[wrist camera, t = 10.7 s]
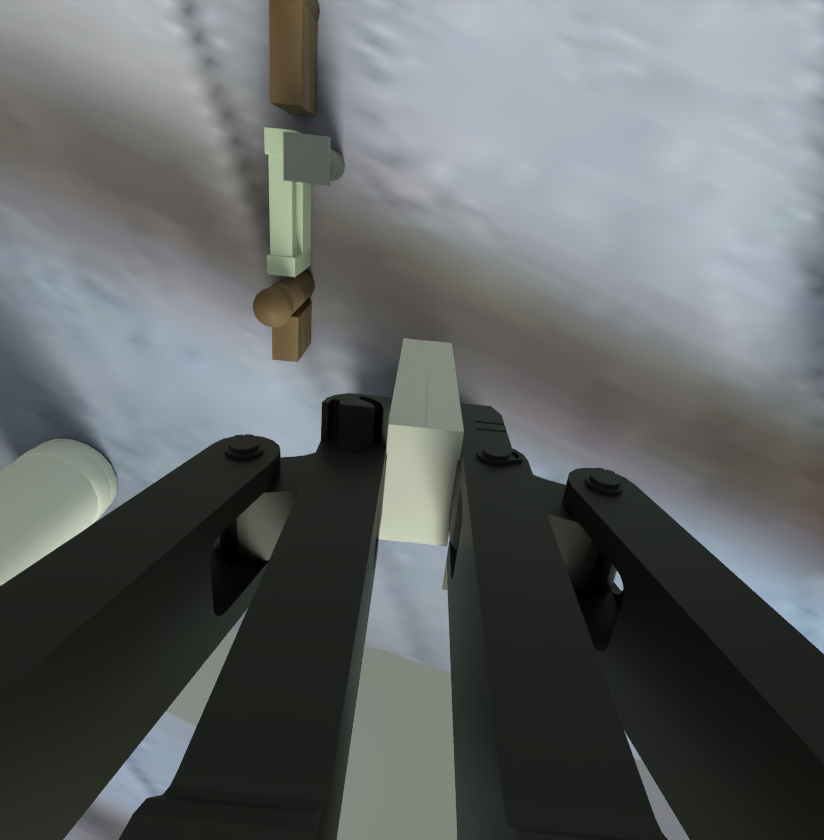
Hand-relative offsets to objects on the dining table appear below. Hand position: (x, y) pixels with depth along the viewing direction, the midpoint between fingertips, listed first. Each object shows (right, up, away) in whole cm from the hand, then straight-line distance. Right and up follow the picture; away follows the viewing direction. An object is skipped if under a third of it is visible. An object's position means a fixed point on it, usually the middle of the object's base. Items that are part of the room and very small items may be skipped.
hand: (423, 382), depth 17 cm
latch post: (-6, +17, +20) cm, 27 cm away
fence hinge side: (-9, +8, +24) cm, 27 cm away
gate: (-8, +14, +21) cm, 27 cm away
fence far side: (-7, +22, +18) cm, 29 cm away
